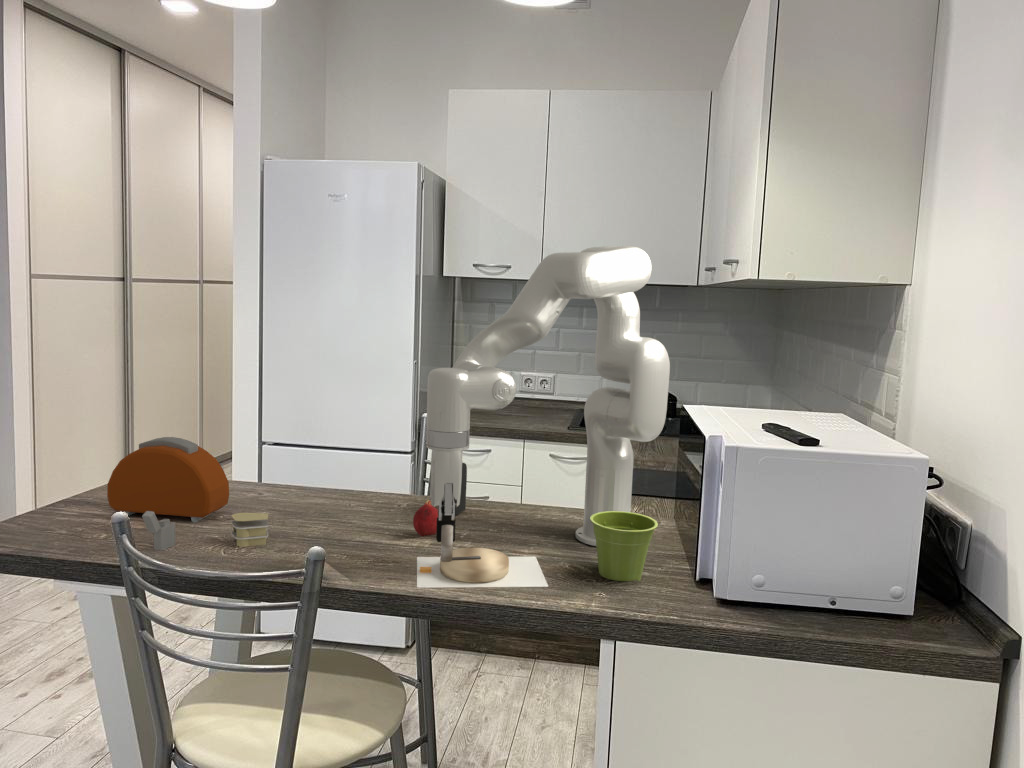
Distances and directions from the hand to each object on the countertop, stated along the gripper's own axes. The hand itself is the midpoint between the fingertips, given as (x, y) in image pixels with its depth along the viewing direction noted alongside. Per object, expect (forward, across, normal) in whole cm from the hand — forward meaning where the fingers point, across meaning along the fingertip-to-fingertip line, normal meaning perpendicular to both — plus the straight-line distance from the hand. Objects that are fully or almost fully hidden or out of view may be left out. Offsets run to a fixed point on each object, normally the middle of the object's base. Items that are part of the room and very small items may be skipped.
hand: (445, 540), depth 142 cm
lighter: (+6, -15, -52) cm, 55 cm away
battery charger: (+6, -39, +4) cm, 39 cm away
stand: (+6, +3, +6) cm, 9 cm away
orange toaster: (+6, -38, -57) cm, 69 cm away
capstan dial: (+4, +3, +5) cm, 7 cm away
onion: (+6, -20, -2) cm, 21 cm away
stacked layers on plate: (+7, -19, -37) cm, 42 cm away
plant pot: (+6, +5, +31) cm, 32 cm away
